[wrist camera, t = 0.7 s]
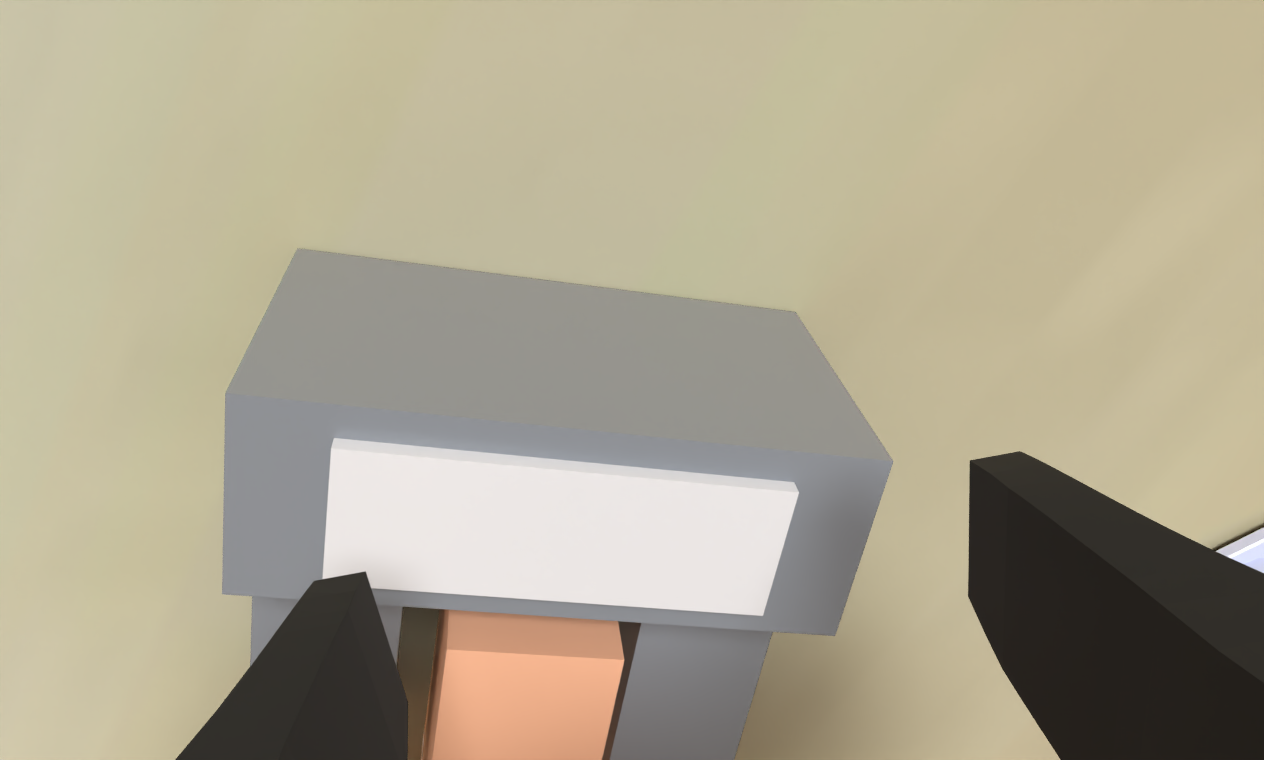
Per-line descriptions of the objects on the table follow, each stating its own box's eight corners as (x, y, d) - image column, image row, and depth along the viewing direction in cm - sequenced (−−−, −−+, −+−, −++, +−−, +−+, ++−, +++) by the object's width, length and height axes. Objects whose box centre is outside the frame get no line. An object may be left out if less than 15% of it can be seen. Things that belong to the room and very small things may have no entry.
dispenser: (297, 248, 20) (220, 403, 14) (795, 312, 22) (899, 471, 16) (277, 688, 25) (213, 935, 19) (688, 710, 26) (740, 941, 21)
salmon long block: (457, 461, 23) (445, 649, 17) (594, 474, 23) (625, 660, 18) (411, 822, 27) (391, 1057, 22) (527, 826, 28) (536, 1055, 22)
